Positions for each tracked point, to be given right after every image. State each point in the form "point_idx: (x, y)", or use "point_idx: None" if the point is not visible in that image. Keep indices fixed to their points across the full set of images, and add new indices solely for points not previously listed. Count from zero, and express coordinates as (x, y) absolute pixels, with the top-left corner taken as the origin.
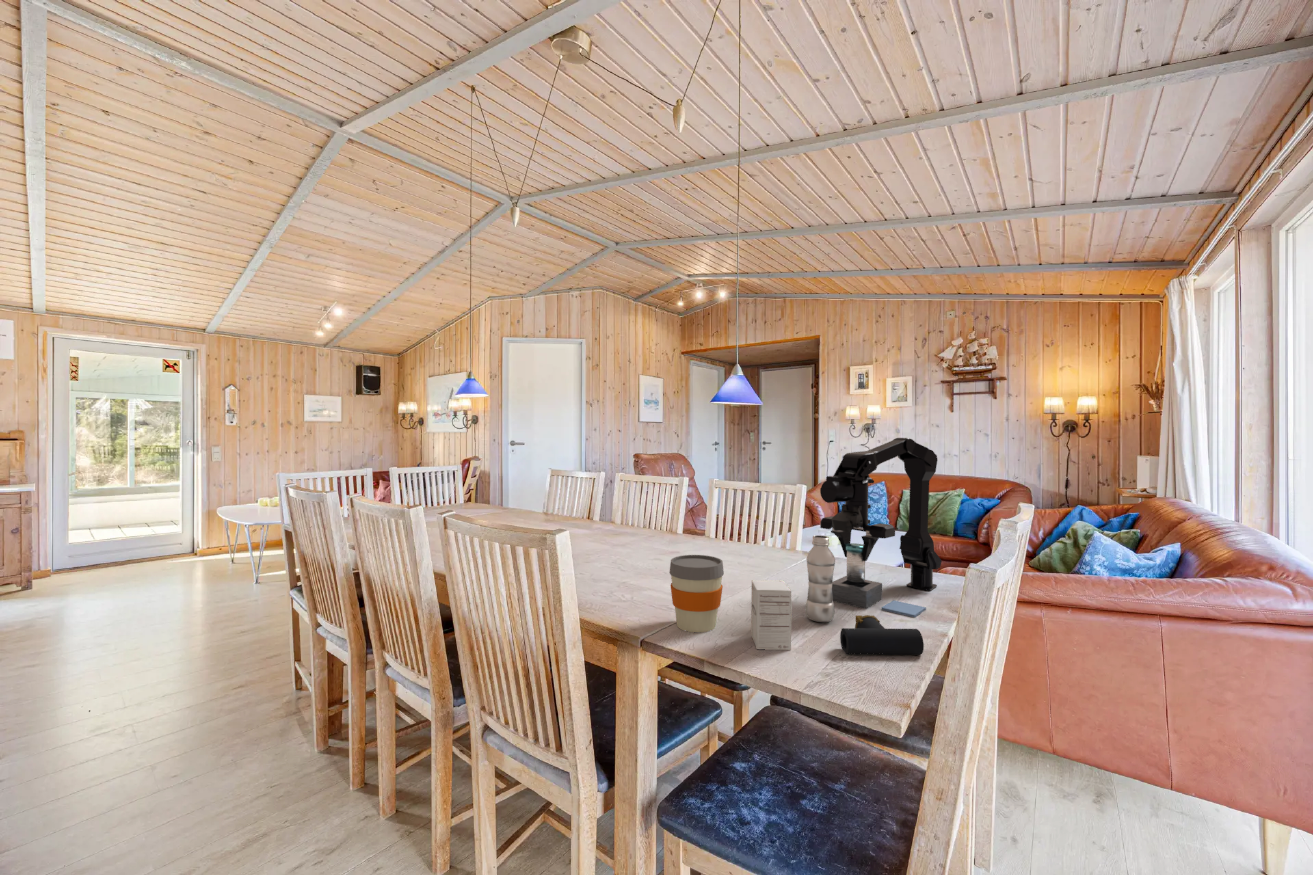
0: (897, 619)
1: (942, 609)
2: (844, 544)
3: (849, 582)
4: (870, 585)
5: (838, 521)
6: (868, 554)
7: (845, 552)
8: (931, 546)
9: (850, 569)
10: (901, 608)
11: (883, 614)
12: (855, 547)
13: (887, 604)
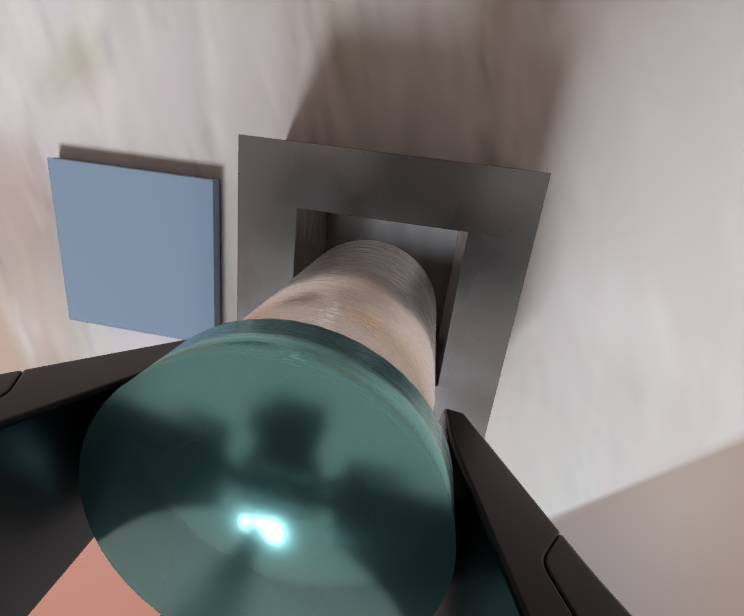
0: (99, 63)
1: (39, 358)
2: (483, 527)
3: (439, 366)
4: None
5: None
6: None
7: (458, 438)
8: None
9: (374, 266)
10: (134, 228)
11: (182, 101)
12: (187, 355)
13: (209, 255)
